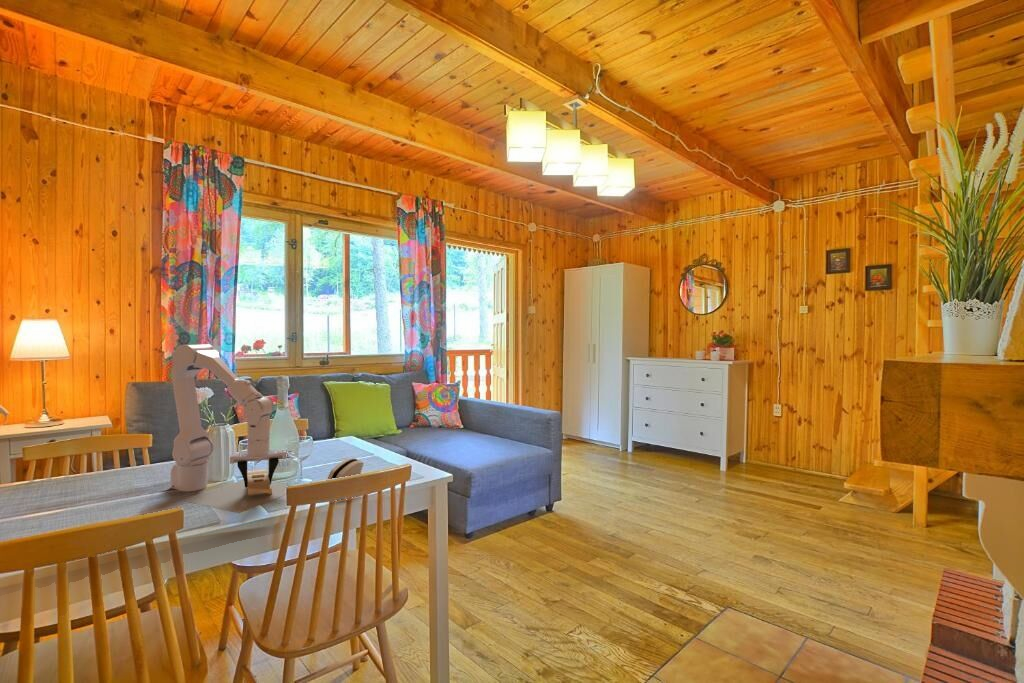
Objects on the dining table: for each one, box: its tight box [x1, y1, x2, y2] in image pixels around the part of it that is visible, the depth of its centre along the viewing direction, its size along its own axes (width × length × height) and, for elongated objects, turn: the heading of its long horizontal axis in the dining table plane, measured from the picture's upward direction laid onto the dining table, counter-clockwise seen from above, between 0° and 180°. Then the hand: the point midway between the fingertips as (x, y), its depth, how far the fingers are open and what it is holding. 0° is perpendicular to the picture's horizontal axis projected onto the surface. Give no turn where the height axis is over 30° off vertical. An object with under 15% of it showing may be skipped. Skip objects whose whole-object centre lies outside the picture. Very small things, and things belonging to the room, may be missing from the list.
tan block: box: [247, 469, 270, 495], centre depth 145 cm, size 14×5×3 cm, turn 29°
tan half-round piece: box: [326, 457, 364, 480], centre depth 156 cm, size 17×5×10 cm, turn 170°
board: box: [179, 479, 288, 514], centre depth 143 cm, size 22×22×4 cm
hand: (257, 485), depth 145 cm, fingers closed on tan block, 5 cm apart
